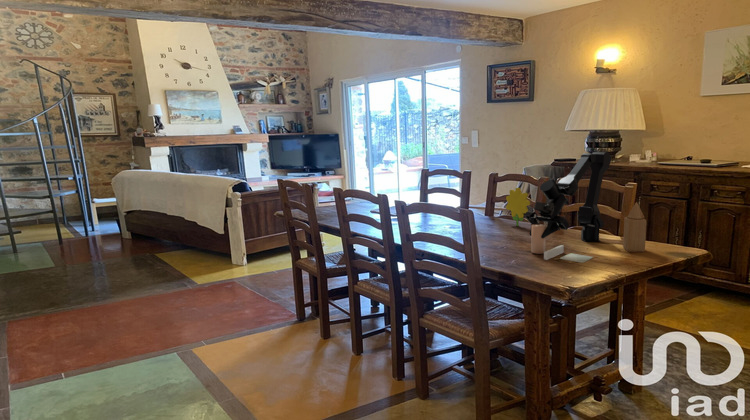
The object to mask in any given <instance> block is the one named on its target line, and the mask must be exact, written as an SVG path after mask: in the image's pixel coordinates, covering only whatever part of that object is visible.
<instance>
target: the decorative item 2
mask: <svg viewBox="0 0 750 420" xmlns="http://www.w3.org/2000/svg"><path fill="white" fill-rule="evenodd" d="M638 203H639V202H637V201H636V202H635V203H634V205H633V206H632V208H631V210H630V211H629V213H628V214H627V216H625V217H624V218H623V219H624V220H623V221H624V222H623V224H624V225H623V238H622V239H623V240H622V241H623V243H622V247H623V249H624V250H625V251H627V252H629V253H632V252H633V253H636V252H637V253H644V252H645V251H646V237H647V235H646V234H647V219H645V216H644V214H643V212H642V209H641V207H640V206H639V204H638Z"/></svg>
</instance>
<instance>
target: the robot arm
mask: <svg viewBox="0 0 750 420" xmlns="http://www.w3.org/2000/svg"><path fill="white" fill-rule="evenodd" d="M611 162H612V156H611V155H610V153H609V152H608V151H593V152H591V153H590V152H588V153H587V152H585V153H582V154H581V155H580V158H579V159H578V161H577V163H576V164H574V166H573V168H572V169H571V171H570V172H569V173H568V174H567V175H566V176H564V177H562V178H561V179H560V180H558V182H557V183H556V179H554V178H549V179H548V180H546V181H544V182H543V183H542V184H540V186H539V190H540V191H541V192H542V194H543V195H544V196H545V198H546V199H547V200H549V201H548V202H542V201H535V204H534V207H533V210H534V211H530V210H528V211H527V212H526V213H524V217H525V219H526V220H527V221H528V223H530V226H531V225H533V224H540V222H544V223H547V224H546V229H545V230H544V232H543V234H542V236H541V238H545V237H548V236H550V235H552V234H553V233H555V232H557V231H561V230H564V231H568V229H569V227H570V223H569V222H568V219H566V218H565V216H561V215H562V209H563V208H564V206H565V205H567V206H568V205H570V202H569V198H568V197H569V196H570V197H571V196H574V195H575V194H576V192H577V191H578V188H579V182H580V180H581V179H582V177H583V176H584V174H585V173H586V172H587V171H588V169H589V168H590V171H591V173H590V176H589V182H588V187H587V191H586V192H587V193H586V198H585V202H584V204H583V205H582V206H579V208H578V212H577V220H578V224H579V226H580V227H582V229H581V230H580V231H581V232H580V239H581V240H582V241H584V242H587V243H588V242H589V243H591V242H594V243H595V242H599V243H600V242H601V240H600V229H602V228H603V227H604V221H603V220H602V219H601V217H600V214H601V212H600V209H599V206H598V205H599V204H598V203H599V198H600V193H601V188H602V182H603V178H604V173H605V172H606V171H607V170H608V169H609V167H610V165H611ZM566 196H568V197H566ZM535 211H538V212H537V213H538V214H537V213H536V212H535ZM529 236H530V237H531V228H530V229H529Z"/></svg>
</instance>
